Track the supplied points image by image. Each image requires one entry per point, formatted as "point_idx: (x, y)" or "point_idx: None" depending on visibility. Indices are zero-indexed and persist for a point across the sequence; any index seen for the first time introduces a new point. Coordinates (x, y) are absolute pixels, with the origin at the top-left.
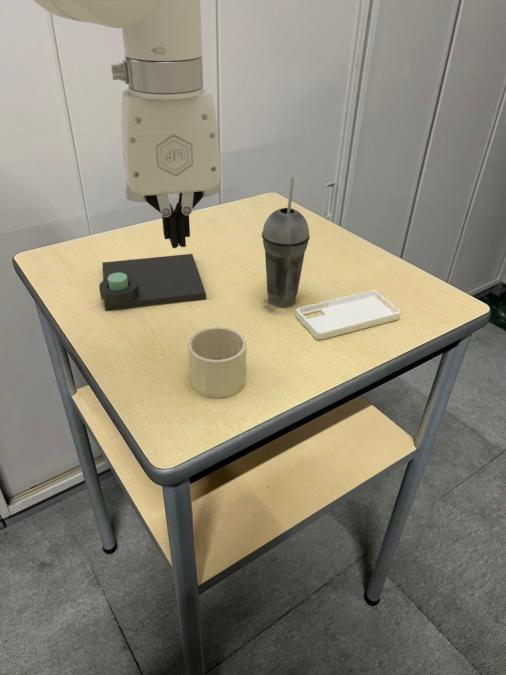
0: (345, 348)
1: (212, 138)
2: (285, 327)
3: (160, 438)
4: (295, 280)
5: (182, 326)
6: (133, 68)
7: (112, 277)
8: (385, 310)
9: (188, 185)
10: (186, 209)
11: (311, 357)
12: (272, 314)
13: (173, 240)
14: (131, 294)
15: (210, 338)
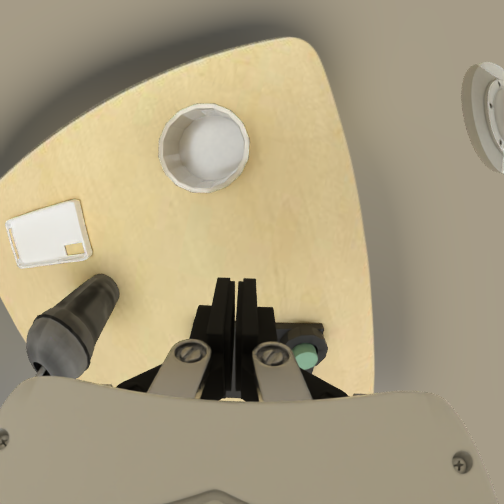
0: (58, 178)
1: None
2: (107, 234)
3: (303, 73)
4: (74, 290)
5: (235, 271)
6: None
7: (311, 361)
8: (17, 236)
9: (144, 419)
10: (191, 357)
11: (92, 167)
12: (117, 265)
13: (252, 288)
14: (291, 335)
15: (207, 185)
